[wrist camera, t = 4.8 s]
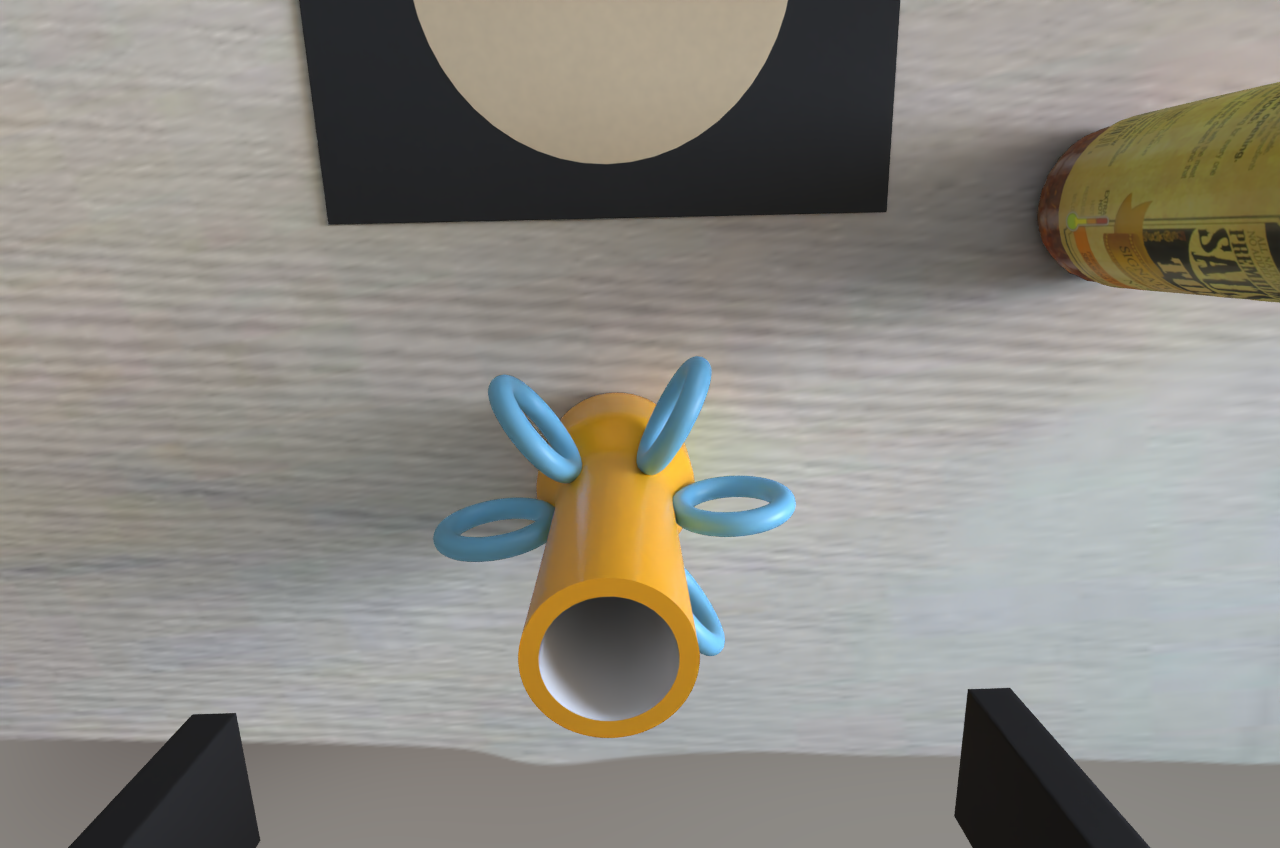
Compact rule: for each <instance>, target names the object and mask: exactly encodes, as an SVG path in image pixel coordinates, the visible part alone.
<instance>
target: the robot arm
mask: <svg viewBox="0 0 1280 848" xmlns="http://www.w3.org/2000/svg"><path fill="white" fill-rule="evenodd" d="M959 769H960V770H959V778H958V787H957V797H956V806H955V815H954V816H955V818H956V820H957V821H958V823H959V825H960V827H961V828H962V830H963V832H964V833H965V835H966V837H967V839H968V840H969V842H970V844H971V846H972V847H973V848H1150V847H1149V846H1148V844H1146V842H1145V841H1144V840H1143V839H1142V838H1141V836H1140V835H1139V834H1138V833H1137V832H1136V831H1135V830H1134V829H1133V827H1132V826H1131V825H1130V824H1129V823H1128V822H1127V821H1126V819H1125V818H1124V817H1123V816H1122V815H1121V814H1120V813H1119V811H1118V810H1117V809H1116V808H1115V807H1114V806H1113V805H1112V803H1111V802H1110V801H1109V800H1108V799H1107V798H1106V797H1105V796H1104V794H1103V793H1102V792H1101V791H1100V790H1099V789H1098V788H1097V786H1096V785H1095V784H1094V783H1093V782H1092V781H1091V780H1090V778H1089V777H1088V776H1087V775H1086V774H1085V773H1084V772H1083V770H1082V769H1081V768H1080V767H1079V766H1078V765H1077V764H1076V763H1075V761H1074V760H1073V759H1072V758H1071V757H1070V756H1069V755H1068V753H1067V752H1066V751H1065V750H1064V749H1063V748H1062V747H1061V745H1060V744H1059V743H1058V742H1057V741H1056V740H1055V739H1054V737H1053V736H1052V735H1051V734H1050V733H1049V732H1048V731H1047V730H1046V728H1045V727H1044V726H1043V725H1042V724H1041V723H1040V722H1039V720H1038V719H1037V718H1036V717H1035V716H1034V715H1033V714H1032V712H1031V711H1030V710H1029V709H1028V708H1027V707H1026V706H1025V705H1024V703H1023V702H1022V701H1021V700H1020V699H1019V698H1018V697H1017V695H1016V694H1015V693H1014V692H1013V691H1012V690H1011V689H1010V688H995V689H968V694H967V703H966V712H965V722H964V731H963V740H962V750H961V759H960V768H959ZM259 841H260V837H259V831H258V826H257V821H256V816H255V810H254V805H253V800H252V795H251V790H250V785H249V780H248V774H247V769H246V764H245V758H244V753H243V748H242V743H241V737H240V732H239V727H238V722H237V716H236V713H225V714H194V715H192V716H191V717H190V718H189V719H188V720H187V721H186V722H185V723H184V724H183V725H182V726H181V727H180V728H179V730H178V731H177V732H176V733H175V734H174V735H173V736H172V737H171V738H170V739H169V740H168V741H167V742H166V743H165V744H164V746H163V747H162V748H161V749H160V750H159V751H158V752H157V753H156V754H155V755H154V756H153V757H152V759H150V761H149V762H148V763H147V764H146V765H145V766H144V767H143V768H142V769H141V770H140V771H139V772H138V774H137V775H136V776H135V777H134V778H133V779H132V780H131V781H130V782H129V783H128V784H127V785H126V786H125V788H123V790H122V791H121V792H120V793H119V794H118V795H117V796H116V797H115V798H114V799H113V800H112V801H111V802H110V803H109V805H108V806H107V807H106V808H105V809H104V810H103V811H102V812H101V813H100V814H99V815H98V816H97V817H96V819H94V821H93V822H92V823H91V824H90V825H89V826H88V827H87V828H86V829H85V830H84V831H83V832H82V833H81V835H80V836H79V837H78V838H77V839H76V840H75V841H74V842H73V843H72V844H71V845H70V846H69V847H68V848H256V846H257V845H258V843H259Z"/></svg>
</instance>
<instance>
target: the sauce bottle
mask: <svg viewBox="0 0 1280 848" xmlns="http://www.w3.org/2000/svg"><path fill="white" fill-rule="evenodd" d="M1037 220H1038V226H1039V232H1040V235H1041V239H1042V242H1043V244H1044V245H1045V247H1046V249H1047V250H1048V252H1049V253H1050V254H1051V256H1052V257H1053V258H1054V259H1055V260H1056V261H1057V263H1059V265H1060V266H1062V267H1063V268H1065V269H1066V270H1067V271H1068V272H1069V273H1071V274H1075V275H1077V276H1079V277H1081V278H1083V279H1085V280H1087V281H1094V282H1098V283H1101V284H1103V285H1107V286H1111V287H1117V288H1129V289H1139V290H1150V291H1161V292H1173V293H1184V294H1196V295H1207V296H1216V297H1227V298H1239V299H1250V300H1259V301H1268V302H1280V82H1277V83H1273V84H1269V85H1264V86H1260V87H1256V88H1251V89H1247V90H1242V91H1238V92H1234V93H1229V94H1225V95H1220V96H1216V97H1211V98H1207V99H1203V100H1199V101H1195V102H1191V103H1186V104H1182V105H1178V106H1174V107H1170V108H1165V109H1161V110H1157V111H1153V112H1149V113H1145V114H1141V115H1137V116H1133V117H1130V118H1127V119H1124V120H1122V121H1119V122H1117V123H1115V124H1114V125H1112V126H1110V127H1107V128H1104V129H1101V130H1099V131H1097V132H1094V133H1091V134H1089V135H1086V136H1085V137H1083V138H1082V139H1080V140H1078V141H1077V142H1076V143H1074V144H1073V145H1072V146H1071V147H1070V148H1069V149H1068V150H1067V151H1066V152H1065V153H1064V154H1063V155H1062V156H1061V157H1060V158H1059V159H1058V161H1057V163H1056V164H1055V166H1054V167H1053V169H1052V170H1051V171H1050V173H1049V174H1048V176H1047V180H1046V183H1045V185H1044V187H1043V189H1042V192H1041V196H1040V201H1039V205H1038V214H1037Z"/></svg>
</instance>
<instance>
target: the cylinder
mask: <svg viewBox="0 0 1280 848" xmlns="http://www.w3.org/2000/svg"><path fill="white" fill-rule="evenodd" d="M710 381H711V366H710V364H709V362H708V361H707V360H706V359H705V358H703V357H700V356H695V357H692V358H690V359H688V360H687V361H685V362H684V363H683V364H682V366H681V367H680V368H679V369H678V370H677V372H676V373H675V374H674V376H673V377H672V379H671V380H670V382H669V384H668V385H667V387H666V388H665V390H664V392H663V394H662V395H661V397H660V399H659V401H658V403H657V405H656V404H655V403H653V402H652V401H650V400H648V399H645V398H643V397H640V396H637V395H633V394H628V393H605V394H600V395H596V396H593V397H590V398H588V399H585V400H583V401H582V402H580V403H578V404H577V405H575V406H574V407H573V408H571V409H570V410H569V411H568V412H567V413H566V414H565V415H564V416H563V417H562V418H561V420H559V418H558V417H557V416H556V415H555V413H554V412H553V411H552V410H551V408H550V407H549V406H548V405H547V404H546V403H545V402H544V401H543V400H542V398H541V397H540V396H539V395H538V394H537V393H535V392H534V391H533V390H532V389H531V388H530V387H529V386H527V385H526V384H525V383H524V382H522V381H521V380H519V379H517V378H515V377H513V376H510V375H499V376H497V377H495V378H494V379H493V380H492V381H491V383H490V385H489V388H488V396H489V401H490V404H491V407H492V410H493V412H494V414H495V416H496V418H497V420H498V421H499V423H500V425H501V426H502V428H503V430H504V431H505V433H506V434H507V435H508V437H509V438H510V439H511V441H512V442H513V443H514V445H515V446H516V447H517V448H518V449H519V451H520V452H521V453H522V454H523V455H524V456H525V457H526V458H527V459H528V460H529V461H530V462H531V463H532V464H533V465H534V466H535V467H536V468H537V469H538V475H537V483H536V492H537V499H534V498H503V499H496V500H490V501H486V502H481V503H478V504H474V505H471V506H468V507H466V508H463V509H461V510H458V511H456V512H454V513H453V514H451V515H449V516H448V517H446V518H445V519H444V520H443V521H441V522H440V524H439V525H438V526H437V528H436V529H435V532H434V536H433V540H434V544H435V547H436V548H437V550H438V551H439V552H440V553H441V554H443V555H445V556H446V557H449V558H451V559H455V560H459V561H467V562H485V561H494V560H501V559H506V558H510V557H514V556H517V555H521V554H524V553H526V552H529V551H531V550H533V549H536V548H538V547H539V546H541V545H543V544H544V543H546V546H545V550H544V554H543V557H542V561H541V565H540V569H539V573H538V576H537V580H536V584H535V588H534V591H533V595H532V599H531V603H530V607H529V610H528V614H527V618H526V622H525V625H524V629H523V633H522V637H521V640H520V645H519V652H518V664H519V671H520V676H521V679H522V682H523V685H524V687H525V689H526V691H527V693H528V695H529V697H530V698H531V700H532V701H533V702H534V704H535V705H536V706H537V707H538V708H539V709H540V711H541V712H543V713H544V714H545V715H546V716H547V717H548V718H550V719H551V720H552V721H554V722H555V723H557V724H559V725H560V726H562V727H564V728H566V729H568V730H571V731H573V732H576V733H579V734H583V735H587V736H592V737H600V738H617V737H625V736H631V735H635V734H638V733H641V732H644V731H647V730H649V729H651V728H653V727H655V726H657V725H659V724H661V723H662V722H664V721H665V720H667V719H668V718H669V717H670V716H672V715H673V714H674V713H675V712H676V711H677V710H678V709H679V708H680V707H681V706H682V704H683V703H684V702H685V700H686V699H687V698H688V696H689V694H690V693H691V691H692V689H693V686H694V684H695V681H696V678H697V675H698V670H699V664H700V653H701V654H704V655H707V656H714V655H717V654H719V653H720V652H721V651H722V649H723V647H724V643H725V637H724V632H723V629H722V626H721V623H720V621H719V619H718V617H717V615H716V613H715V611H714V609H713V607H712V605H711V604H710V602H709V600H708V599H707V597H706V595H705V594H704V592H703V591H702V589H701V588H700V586H699V585H698V584H697V582H696V581H695V580H694V578H693V577H692V576H691V574H690V573H689V572H688V571H687V570H686V568H685V567H684V563H683V558H682V552H681V547H680V541H679V536H678V534H679V533H680V531H681V530H682V528H684V529H686V530H688V531H691V532H694V533H698V534H702V535H708V536H717V537H736V536H746V535H753V534H757V533H762V532H765V531H768V530H771V529H773V528H776V527H778V526H780V525H781V524H783V523H784V522H786V521H787V520H788V519H789V518H790V517H791V516H792V514H793V512H794V510H795V505H796V503H795V498H794V495H793V494H792V492H791V491H790V490H789V489H788V488H787V487H786V486H784V485H783V484H781V483H779V482H776V481H773V480H770V479H766V478H761V477H753V476H724V477H716V478H710V479H705V480H701V481H698V482H694V474H693V469H692V466H691V462H690V459H689V456H688V452H687V449H686V446H685V443H684V442H685V440H686V438H687V436H688V435H689V433H690V431H691V429H692V427H693V425H694V423H695V421H696V419H697V417H698V415H699V413H700V411H701V408H702V406H703V403H704V401H705V398H706V395H707V392H708V389H709V386H710ZM522 411H523V412H524V413H525V414H526V415H527V416H528V417H529V418H530V419H531V420H532V421H533V422H534V423H535V425H536V426H537V427H538V428H539V430H540V431H541V432H542V433H543V435H544V436H545V438H546V439H547V441H548V444H547V443H546V441H545V440H544V439H543V438H542V437H541V436H540V435H539V434H538V432H537V431H536V430H535V429H534V427H533V426H532V425H531V424H530V422H529V421H528V419H527V418H526V416H525V415H524V413H523V412H522ZM726 497H749V498H756V499H761V500H764V501H767V502H769V504H767V505H765V506H763V507H760V508H756V509H752V510H747V511H740V512H711V511H705V510H700V509H697V508H695V507H694V506H696V505H698V504H700V503H702V502H705V501H709V500H713V499H718V498H726ZM505 519H529V520H534V521H535V522H534V523H532V524H530V525H529V526H526V527H524V528H522V529H519V530H516V531H513V532H510V533H506V534H501V535H496V536H488V537H465V536H460V534H462V533H463V532H465V531H467V530H469V529H471V528H473V527H476V526H479V525H482V524H485V523H489V522H493V521H498V520H505Z"/></svg>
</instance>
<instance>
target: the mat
mask: <svg viewBox="0 0 1280 848" xmlns="http://www.w3.org/2000/svg"><path fill="white" fill-rule="evenodd" d="M299 2H300V10H301V17H302V25H303V33H304V40H305V48H306V56H307V63H308V71H309V79H310V86H311V94H312V102H313V109H314V117H315V125H316V132H317V140H318V148H319V155H320V163H321V171H322V178H323V186H324V194H325V201H326V209H327V217H328V224H372V223H417V222H461V221H506V220H551V219H595V218H640V217H685V216H729V215H774V214H819V213H863V212H886V211H887V195H888V180H889V165H890V149H891V134H892V118H893V103H894V87H895V72H896V56H897V41H898V25H899V10H900V0H299Z"/></svg>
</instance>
